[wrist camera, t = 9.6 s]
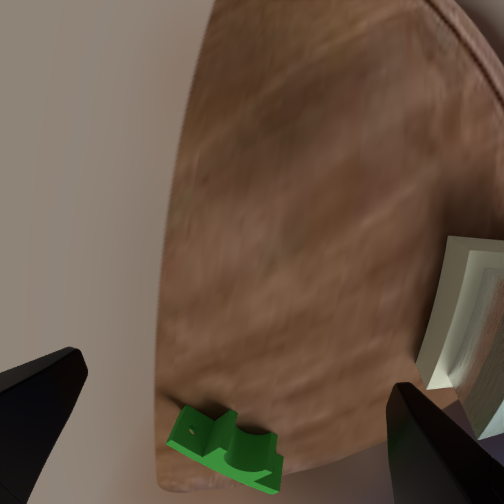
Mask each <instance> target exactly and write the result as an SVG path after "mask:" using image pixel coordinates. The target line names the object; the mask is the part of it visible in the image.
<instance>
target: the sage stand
mask: <svg viewBox="0 0 504 504" xmlns="http://www.w3.org/2000/svg"><path fill="white" fill-rule="evenodd" d="M484 267H488V268H504V241H502V240H492V239H481V238H470V237H459V236H448V238H447V244H446V250H445V256H444V261H443V266H442V271H441V276H440V280H439V285H438V289H437V293H436V297H435V301H434V305H433V309H432V312H431V316H430V320H429V323H428V327H427V330H426V333H425V337H424V340H423V343H422V346H421V349H420V352H419V355H418V358H417V361H416V366H417V369H418V371H419V373H420V376H421V378H422V380H423V383H424V385H425V387H426V390H427V389H437V388H446V387H453V386H452V384H451V382H450V380H449V378H448V376H449V373H450V371H451V369H452V366H453V364H454V361H455V359H456V357H457V354H458V351H459V349H460V346H461V344H462V341H463V338H464V335H465V332H466V330H467V327H468V324H469V321H470V318H471V314H472V311H473V308H474V305H475V301H476V298H477V294H478V291H479V287H480V283H481V279H482V275H483V271H484Z"/></svg>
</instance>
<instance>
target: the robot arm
mask: <svg viewBox="0 0 504 504" xmlns="http://www.w3.org/2000/svg"><path fill="white" fill-rule="evenodd" d="M87 376H88V369H87V366H86V363H85V361H84V358H83V355H82V353H81V351H80V350H79V349H77V348H73V347H66V348H63V349H61V350H58V351H56V352H53V353H51V354H48V355H45V356H43V357H40V358H38V359H35V360H33V361H30V362H28V363H25V364H22V365H20V366H17V367H14V368H12V369H9V370H7V371H4V372H1V373H0V504H27V501H28V499H29V497H30V495H31V492H32V490H33V488H34V486H35V483H36V481H37V479H38V477H39V475H40V473H41V471H42V469H43V467H44V465H45V463H46V460H47V459H48V457H49V455H50V453H51V451H52V449H53V447H54V445H55V443H56V441H57V439H58V437H59V435H60V434H61V432H62V430H63V428H64V426H65V424H66V422H67V421H68V419H69V417H70V414H71V413H72V410H73V408H74V406H75V404H76V401H77V399H78V397H79V394H80V392H81V390H82V387H83V385H84V383H85V381H86V378H87ZM386 421H387V439H388V460H389V468H390V475H391V482H392V488H393V497H394V504H504V466H503V465H502V464H500V463H499V462H498V461H497V460H496V459H495V458H492V456H491V455H490V454H489V453H488V452H487V451H486V450H485V449H484V448H483V447H482V446H481V445H479V444H478V443H477V442H476V441H475V440H474V439H473V438H472V437H471V436H469V435H468V434H467V433H466V432H465V431H464V430H463V429H462V428H461V427H460V426H458V425H457V424H456V423H455V422H454V421H453V420H452V419H451V418H450V417H449V416H447V415H446V414H445V413H444V412H443V411H442V410H441V409H440V408H439V407H437V406H436V405H435V404H434V403H433V402H432V401H431V400H430V399H428V398H427V397H426V396H425V395H424V394H423V393H422V392H421V391H420V390H418V389H417V388H416V387H415V386H414V385H413V384H412V383H410V382H400V383H396V384H395V385H394V386H393V389H392V392H391V394H390V397H389V400H388V402H387V406H386Z"/></svg>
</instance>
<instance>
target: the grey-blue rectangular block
mask: <svg viewBox="0 0 504 504" xmlns="http://www.w3.org/2000/svg"><path fill="white" fill-rule="evenodd" d="M448 378H449V380H450V382H451V384H452V386H453V388H454V390H455V392H456V394H457V396H458V398H459V400H460V402H461V404H462V406H463V408H464V411H465V413H466V415H467V417H468V419H469V421H470V424H471V426H472V428H473V431H474V433H475V435H476V437H477V440H480V439H483V438H487V437H490V436H493V435H497V434H500V433H503V432H504V268H488V267H484V271H483V275H482V279H481V283H480V287H479V291H478V294H477V298H476V301H475V305H474V308H473V311H472V314H471V318H470V321H469V324H468V327H467V330H466V332H465V335H464V338H463V341H462V344H461V346H460V349H459V351H458V354H457V357H456V359H455V361H454V364H453V366H452V369H451V371H450V373H449V376H448Z"/></svg>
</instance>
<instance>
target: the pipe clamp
mask: <svg viewBox="0 0 504 504" xmlns="http://www.w3.org/2000/svg"><path fill="white" fill-rule="evenodd" d="M237 415H238V413H236V412H235V411H233V410H231V409H230V410H229V411H228V412H226V413H225V414H224V415H222V416H221V417H220V418H218V419H217V420H216V421H214V420H212V419H210V418H208V417H207V416H205V415H203V414H202V413H200V412H199V411H197V410H195V409H194V408H192V407H191V406H189V405H186V406H185V407H184V408H183V409H182V410H181V412H180V414H179V416H178V418H177V420H176V423H175V425H174V427H173V429H172V431H171V433H170V436H169V438H168V440H167V442H166V444H167V445H168V446H170V447H172V448H174V449H175V450H177V451H179V452H181V453H182V454H184V455H186V456H188V457H190V458H191V459H193V460H195V461H197V462H199V463H201V464H203V465H205V466H207V467H209V468H211V469H213V470H215V471H217V472H219V473H221V474H223V475H225V476H228V477H230V478H232V479H234V480H236V481H239V482H241V483H243V484H246V485H248V486H251V487H253V488H255V489H258V490H261V491H263V492H266V493H268V494H271V495H272V494H275V493H278V492H279V491H280V483H281V475H282V466H283V458H284V457H283V456H280V455H278V454H276V453H275V452H276V445H277V437H278V435H276V434H274V433H273V432H270V433H268V434H265V435H252V434H248V433H245V432H243V431H241V430H240V429H239V428H238V427H237V426H236V425H235V422H236V418H237ZM189 429H190V430H192V431H193V433H194V435H193V434H192V433H191V432H190V431H189Z"/></svg>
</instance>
